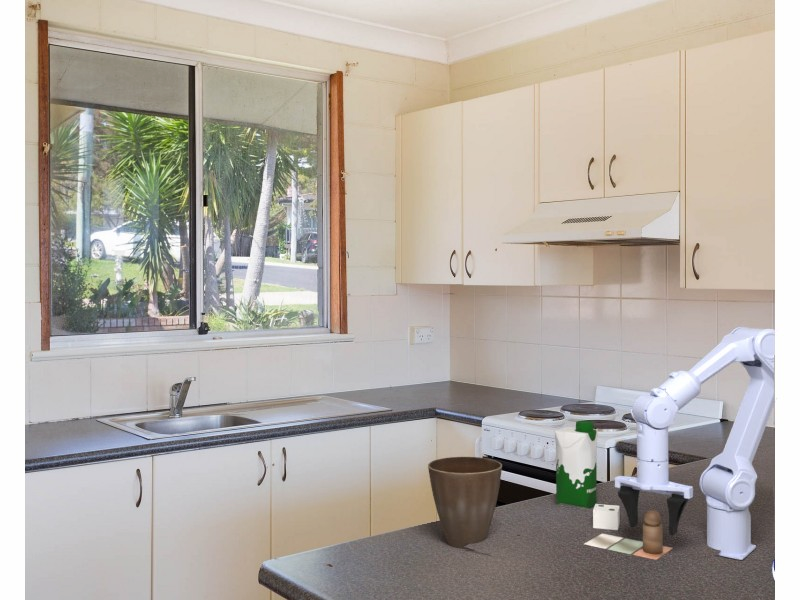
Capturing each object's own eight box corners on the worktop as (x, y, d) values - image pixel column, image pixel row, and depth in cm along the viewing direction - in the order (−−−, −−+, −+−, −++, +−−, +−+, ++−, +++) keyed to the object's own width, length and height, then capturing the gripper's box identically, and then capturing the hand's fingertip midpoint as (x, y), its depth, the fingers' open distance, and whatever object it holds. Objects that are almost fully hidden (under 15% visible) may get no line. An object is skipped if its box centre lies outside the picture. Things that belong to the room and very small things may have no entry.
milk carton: (587, 512, 181) (587, 425, 181) (550, 506, 186) (550, 422, 186) (601, 504, 188) (601, 420, 188) (566, 498, 193) (565, 417, 193)
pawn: (647, 546, 153) (646, 506, 153) (665, 550, 151) (665, 509, 151) (639, 551, 150) (639, 510, 150) (658, 555, 148) (658, 513, 148)
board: (602, 537, 162) (602, 532, 162) (675, 552, 153) (675, 547, 153) (580, 550, 155) (580, 544, 155) (655, 567, 145) (655, 560, 145)
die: (595, 526, 170) (595, 503, 170) (619, 529, 169) (619, 505, 169) (593, 533, 166) (593, 509, 166) (617, 535, 164) (617, 511, 164)
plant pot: (472, 560, 149) (471, 476, 149) (413, 544, 160) (412, 465, 159) (517, 541, 160) (516, 463, 160) (459, 527, 170) (459, 453, 170)
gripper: (607, 457, 152) (608, 528, 152) (683, 467, 143) (683, 542, 143) (623, 451, 157) (623, 519, 158) (696, 461, 148) (697, 533, 148)
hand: (653, 529), depth 151 cm, fingers open, 7 cm apart
